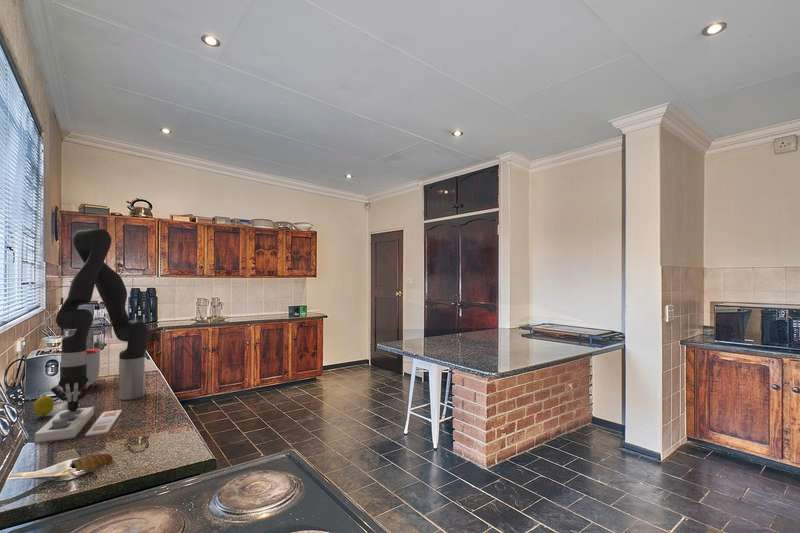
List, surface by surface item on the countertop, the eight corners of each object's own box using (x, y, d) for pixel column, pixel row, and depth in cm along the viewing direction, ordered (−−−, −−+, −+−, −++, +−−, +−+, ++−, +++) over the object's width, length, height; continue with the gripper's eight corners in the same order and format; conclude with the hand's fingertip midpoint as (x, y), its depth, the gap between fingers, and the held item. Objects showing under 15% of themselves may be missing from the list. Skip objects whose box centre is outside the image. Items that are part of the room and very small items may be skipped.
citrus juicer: (47, 395, 174) (47, 350, 174) (68, 384, 191) (69, 343, 191) (88, 392, 178) (89, 348, 178) (106, 382, 195) (106, 341, 195)
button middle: (76, 419, 141) (76, 410, 141) (72, 423, 137) (72, 414, 137) (61, 421, 139) (61, 412, 139) (57, 425, 136) (57, 416, 136)
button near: (69, 426, 135) (69, 417, 135) (65, 430, 131) (65, 421, 131) (54, 428, 133) (54, 419, 133) (49, 432, 129) (50, 423, 129)
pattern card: (122, 411, 155) (122, 409, 155) (107, 433, 134) (107, 430, 134) (103, 413, 152) (103, 411, 152) (85, 436, 131) (85, 434, 131)
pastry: (106, 458, 116) (106, 445, 116) (117, 464, 112) (117, 451, 113) (66, 472, 108) (67, 458, 108) (76, 479, 105) (77, 465, 105)
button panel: (93, 414, 151) (93, 406, 151) (74, 437, 130) (74, 428, 130) (60, 418, 146) (60, 410, 147) (34, 443, 126) (34, 433, 126)
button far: (82, 416, 147) (82, 408, 147) (78, 420, 144) (78, 411, 144) (68, 418, 145) (68, 409, 146) (64, 421, 142) (64, 413, 142)
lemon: (41, 419, 145) (42, 398, 145) (29, 418, 146) (30, 397, 147) (57, 414, 151) (57, 393, 151) (45, 413, 152) (46, 392, 152)
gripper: (98, 359, 151) (98, 405, 151) (54, 363, 145) (53, 410, 145) (93, 364, 144) (92, 411, 144) (46, 367, 139) (45, 417, 138)
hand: (73, 411), depth 144 cm, fingers closed
